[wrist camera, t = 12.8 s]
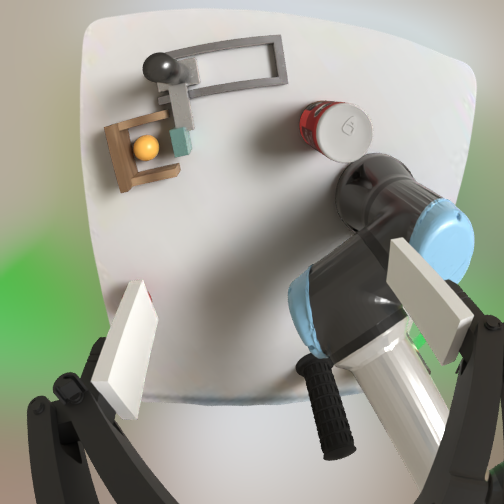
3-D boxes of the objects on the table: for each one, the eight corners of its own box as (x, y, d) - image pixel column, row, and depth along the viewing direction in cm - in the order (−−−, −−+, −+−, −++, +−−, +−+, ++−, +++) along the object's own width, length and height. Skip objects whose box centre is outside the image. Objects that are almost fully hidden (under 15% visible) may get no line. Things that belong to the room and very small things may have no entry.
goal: (168, 109, 41) (158, 111, 36) (180, 170, 46) (173, 181, 41) (119, 122, 41) (104, 127, 36) (133, 180, 46) (120, 193, 41)
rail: (279, 36, 37) (280, 34, 36) (286, 83, 41) (288, 83, 40) (152, 57, 37) (150, 56, 36) (160, 104, 41) (159, 105, 40)
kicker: (196, 58, 38) (182, 43, 25) (211, 145, 44) (204, 165, 32) (157, 68, 38) (128, 58, 25) (173, 153, 45) (152, 176, 32)
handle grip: (328, 345, 68) (289, 361, 70) (361, 442, 45) (310, 459, 47) (338, 367, 73) (303, 381, 74) (367, 455, 50) (323, 470, 51)
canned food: (348, 106, 43) (379, 111, 33) (338, 152, 47) (366, 169, 37) (302, 95, 42) (323, 96, 32) (293, 143, 46) (311, 158, 36)
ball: (138, 135, 43) (160, 130, 42) (143, 159, 45) (165, 154, 44) (126, 140, 40) (149, 135, 39) (132, 166, 42) (155, 161, 41)
